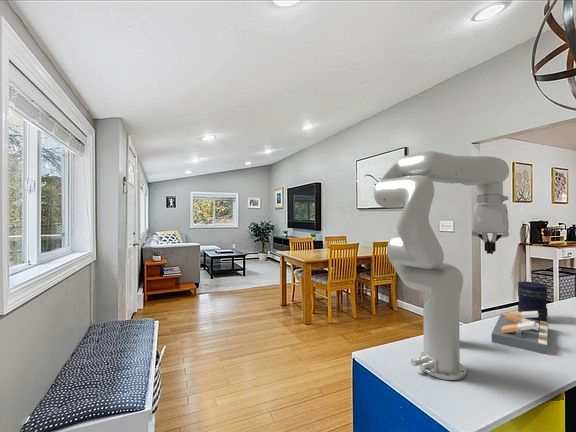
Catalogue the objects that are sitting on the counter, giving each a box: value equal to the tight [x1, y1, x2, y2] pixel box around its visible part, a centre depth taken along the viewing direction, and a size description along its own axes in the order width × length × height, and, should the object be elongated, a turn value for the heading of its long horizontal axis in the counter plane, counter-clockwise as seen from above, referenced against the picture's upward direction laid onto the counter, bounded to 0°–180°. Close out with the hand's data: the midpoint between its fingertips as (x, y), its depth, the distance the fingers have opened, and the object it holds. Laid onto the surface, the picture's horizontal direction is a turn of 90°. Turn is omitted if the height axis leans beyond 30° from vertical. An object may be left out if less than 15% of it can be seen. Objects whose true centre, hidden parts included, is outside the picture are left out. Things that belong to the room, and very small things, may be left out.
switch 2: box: [504, 311, 539, 330], centre depth 111 cm, size 4×10×2 cm, turn 49°
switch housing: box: [491, 313, 549, 355], centre depth 111 cm, size 26×15×5 cm, turn 139°
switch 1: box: [510, 311, 539, 318], centre depth 117 cm, size 4×10×2 cm, turn 49°
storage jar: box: [517, 281, 549, 322], centre depth 128 cm, size 10×10×15 cm
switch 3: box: [501, 321, 536, 333], centre depth 105 cm, size 4×10×2 cm, turn 49°
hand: (490, 253), depth 103 cm, fingers closed
